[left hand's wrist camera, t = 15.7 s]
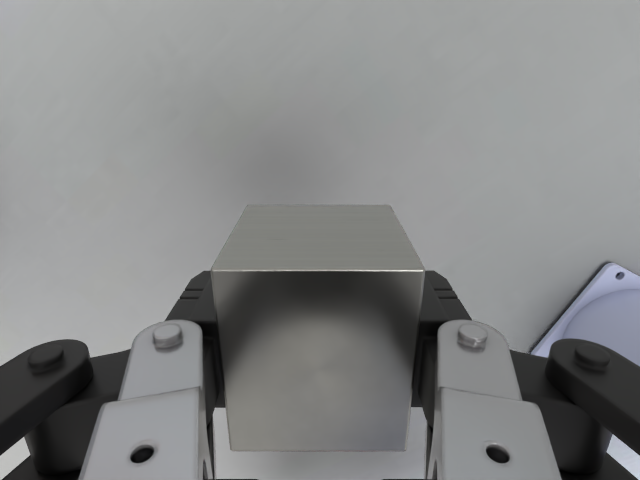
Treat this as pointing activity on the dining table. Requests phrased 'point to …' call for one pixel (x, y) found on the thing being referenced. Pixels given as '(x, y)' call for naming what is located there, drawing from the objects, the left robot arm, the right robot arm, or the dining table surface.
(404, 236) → the block
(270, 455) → the dining table surface
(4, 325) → the dining table surface
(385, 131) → the dining table surface
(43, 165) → the dining table surface
